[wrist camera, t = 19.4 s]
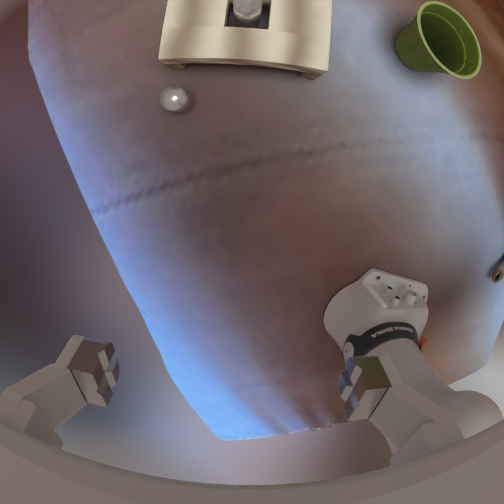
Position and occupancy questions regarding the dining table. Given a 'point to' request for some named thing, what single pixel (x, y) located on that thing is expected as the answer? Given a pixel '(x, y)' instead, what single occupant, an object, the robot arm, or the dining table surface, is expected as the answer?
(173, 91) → the short pin
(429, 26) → the plant pot
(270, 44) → the board
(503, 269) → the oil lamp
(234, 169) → the dining table surface
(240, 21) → the grey peg
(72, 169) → the dining table surface
